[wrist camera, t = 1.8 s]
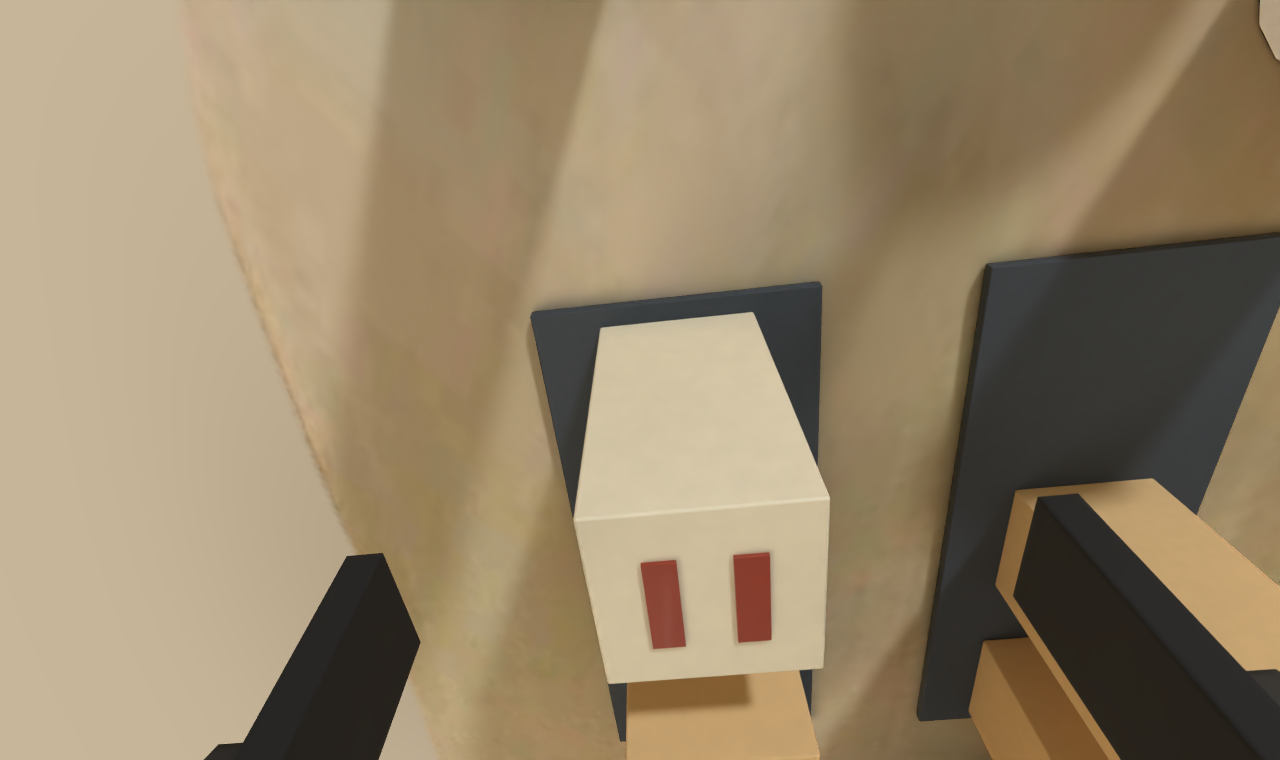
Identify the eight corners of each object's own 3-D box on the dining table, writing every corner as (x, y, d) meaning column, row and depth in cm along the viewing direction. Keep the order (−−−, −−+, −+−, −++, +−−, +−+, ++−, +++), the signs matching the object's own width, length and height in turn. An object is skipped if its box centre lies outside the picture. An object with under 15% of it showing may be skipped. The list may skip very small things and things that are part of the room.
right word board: (1114, 700, 29) (1306, 967, 21) (916, 713, 29) (1025, 980, 21) (1296, 230, 19) (1832, 385, 10) (985, 263, 19) (1254, 436, 11)
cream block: (757, 439, 22) (825, 673, 14) (619, 452, 22) (607, 689, 14) (753, 311, 19) (832, 501, 11) (599, 327, 20) (571, 523, 12)
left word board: (808, 721, 30) (874, 987, 21) (620, 734, 30) (612, 998, 22) (819, 280, 19) (955, 463, 11) (531, 311, 20) (452, 508, 11)
